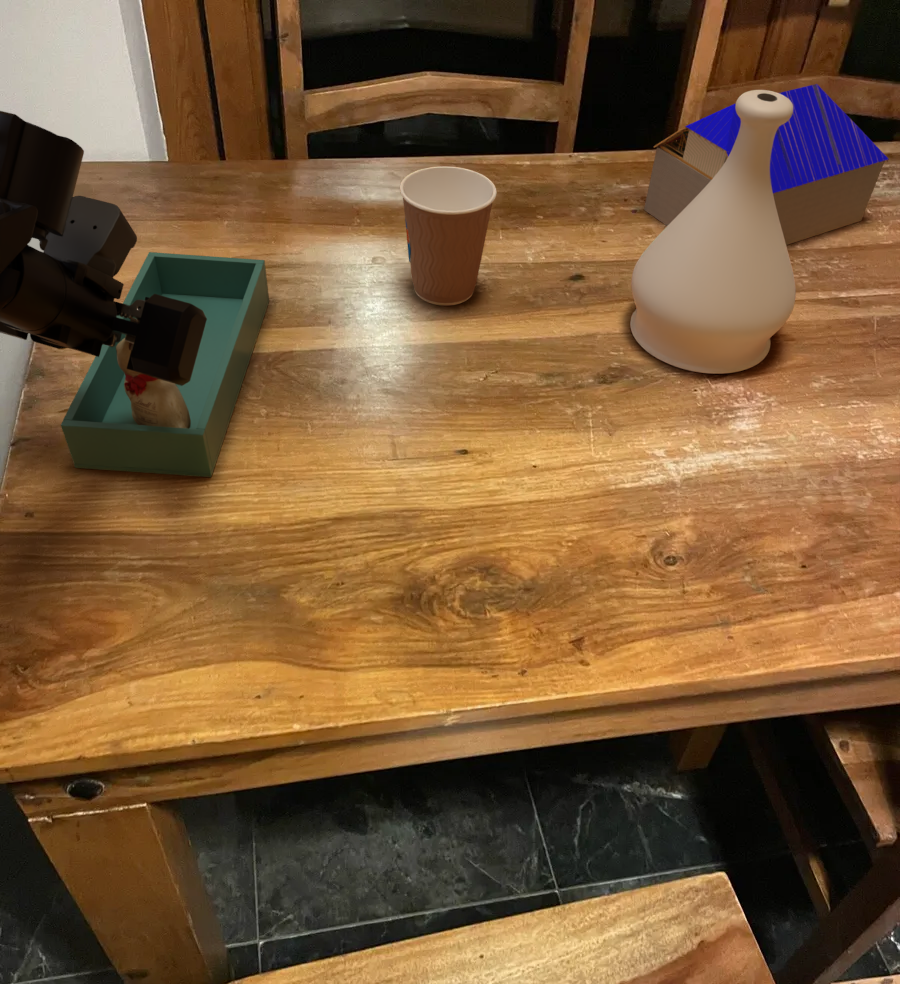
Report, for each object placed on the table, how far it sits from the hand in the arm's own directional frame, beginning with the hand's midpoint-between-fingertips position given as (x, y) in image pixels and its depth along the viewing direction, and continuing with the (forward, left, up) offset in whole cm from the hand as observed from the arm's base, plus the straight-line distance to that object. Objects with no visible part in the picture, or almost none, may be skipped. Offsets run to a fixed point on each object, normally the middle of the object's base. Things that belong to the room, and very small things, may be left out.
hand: (146, 343), depth 83 cm
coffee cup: (+31, +21, -9) cm, 39 cm away
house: (+75, +34, -9) cm, 83 cm away
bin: (+2, +8, -9) cm, 12 cm away
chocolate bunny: (0, -2, -7) cm, 7 cm away
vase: (+58, +9, -9) cm, 60 cm away
